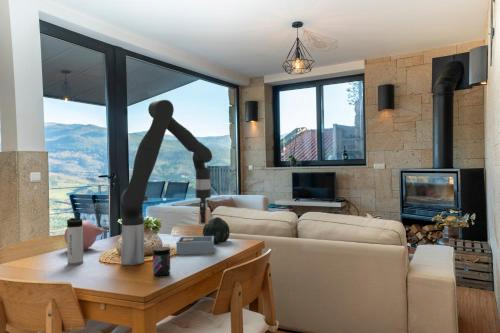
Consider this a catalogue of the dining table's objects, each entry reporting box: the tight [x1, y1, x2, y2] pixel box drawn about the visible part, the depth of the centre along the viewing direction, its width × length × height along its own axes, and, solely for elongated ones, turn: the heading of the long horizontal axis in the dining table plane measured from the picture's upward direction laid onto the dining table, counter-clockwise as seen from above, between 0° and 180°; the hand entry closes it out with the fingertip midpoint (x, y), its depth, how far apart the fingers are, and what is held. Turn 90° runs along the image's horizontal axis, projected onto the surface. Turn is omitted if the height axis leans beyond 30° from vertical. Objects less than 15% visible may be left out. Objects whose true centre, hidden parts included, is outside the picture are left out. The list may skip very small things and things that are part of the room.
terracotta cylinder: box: [198, 208, 210, 225], centre depth 183 cm, size 5×5×7 cm
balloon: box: [64, 219, 107, 251], centre depth 189 cm, size 15×20×15 cm
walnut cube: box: [183, 238, 194, 242], centre depth 182 cm, size 5×5×5 cm
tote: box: [175, 235, 215, 255], centre depth 183 cm, size 18×14×6 cm
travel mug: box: [66, 217, 84, 266], centre depth 161 cm, size 6×7×20 cm
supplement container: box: [152, 246, 171, 278], centre depth 142 cm, size 7×7×10 cm
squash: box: [202, 216, 231, 244], centre depth 203 cm, size 14×15×15 cm
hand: (203, 221), depth 183 cm, fingers closed on terracotta cylinder, 5 cm apart
